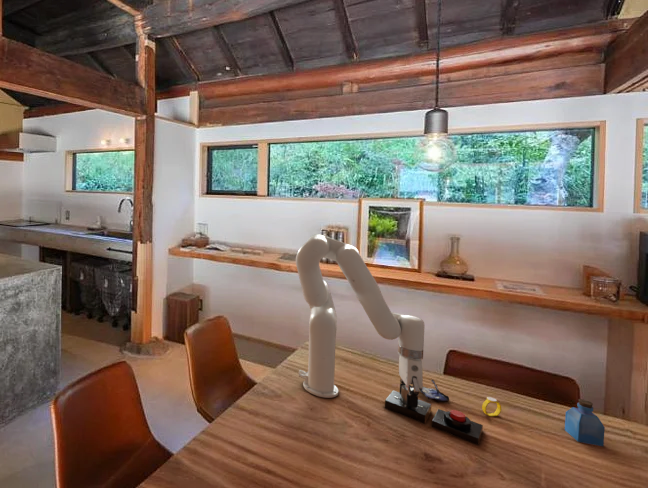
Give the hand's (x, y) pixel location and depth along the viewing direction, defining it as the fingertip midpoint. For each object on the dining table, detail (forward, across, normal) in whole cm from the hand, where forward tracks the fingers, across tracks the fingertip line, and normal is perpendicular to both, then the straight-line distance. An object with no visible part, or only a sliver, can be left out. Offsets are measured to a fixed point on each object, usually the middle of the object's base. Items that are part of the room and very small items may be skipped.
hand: (408, 400), depth 140 cm
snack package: (+4, +14, -11) cm, 19 cm away
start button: (0, -7, -12) cm, 14 cm away
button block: (+4, -7, -12) cm, 15 cm away
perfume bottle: (+4, +2, -50) cm, 50 cm away
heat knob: (+1, 0, 0) cm, 1 cm away
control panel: (+4, 0, 0) cm, 4 cm away
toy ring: (+4, +6, -28) cm, 29 cm away
